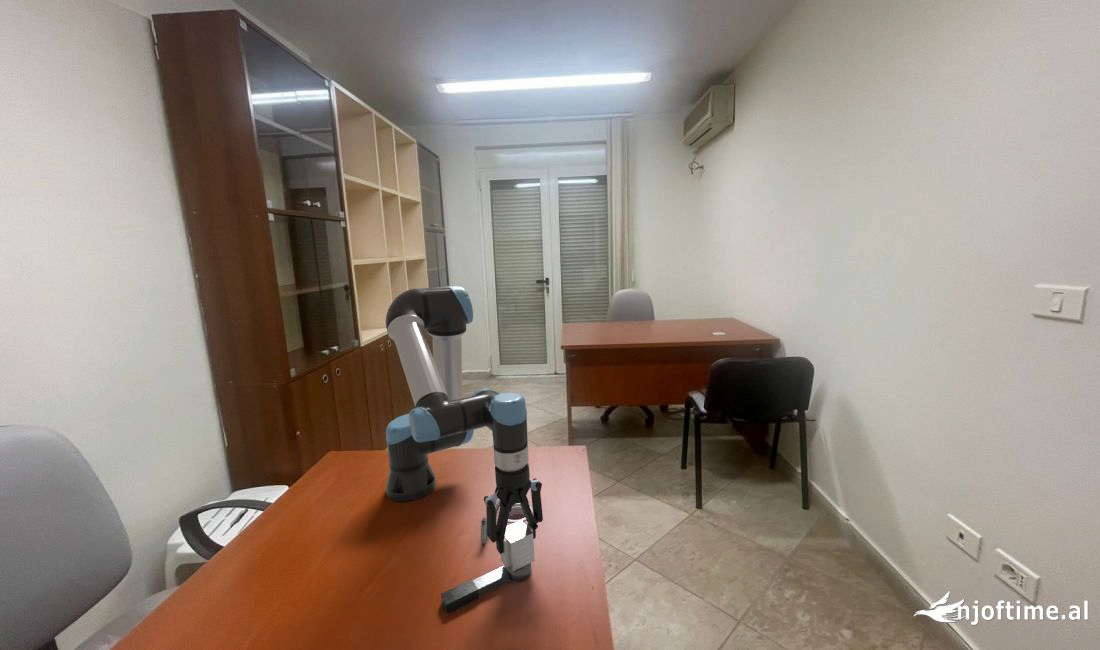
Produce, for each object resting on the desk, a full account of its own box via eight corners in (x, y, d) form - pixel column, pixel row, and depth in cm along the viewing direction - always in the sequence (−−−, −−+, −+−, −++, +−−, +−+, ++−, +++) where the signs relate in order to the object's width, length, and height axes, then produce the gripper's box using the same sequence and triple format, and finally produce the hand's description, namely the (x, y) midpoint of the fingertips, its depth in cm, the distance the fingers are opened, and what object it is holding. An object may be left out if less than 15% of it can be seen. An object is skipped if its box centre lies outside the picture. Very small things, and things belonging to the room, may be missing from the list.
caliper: (485, 546, 104) (484, 523, 103) (481, 545, 104) (479, 523, 103) (502, 498, 124) (501, 479, 123) (498, 498, 124) (497, 479, 123)
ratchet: (439, 598, 88) (437, 571, 87) (523, 558, 98) (522, 534, 97) (448, 618, 83) (446, 590, 82) (536, 574, 93) (534, 549, 92)
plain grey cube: (501, 556, 94) (499, 529, 93) (523, 546, 97) (521, 520, 96) (512, 571, 90) (510, 543, 89) (534, 560, 93) (532, 533, 92)
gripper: (478, 485, 82) (486, 586, 86) (556, 458, 91) (560, 550, 95) (465, 469, 88) (473, 564, 92) (539, 445, 98) (543, 532, 102)
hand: (517, 557), depth 94 cm, fingers closed on plain grey cube, 6 cm apart
